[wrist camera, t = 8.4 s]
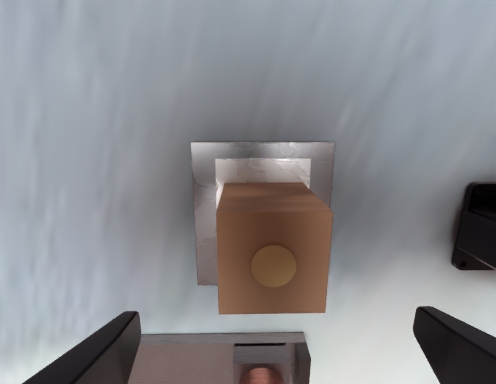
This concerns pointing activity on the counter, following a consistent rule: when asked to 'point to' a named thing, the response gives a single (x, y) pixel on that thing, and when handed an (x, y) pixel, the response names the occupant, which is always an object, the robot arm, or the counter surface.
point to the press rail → (209, 357)
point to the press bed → (249, 171)
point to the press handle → (261, 365)
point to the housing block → (272, 249)
